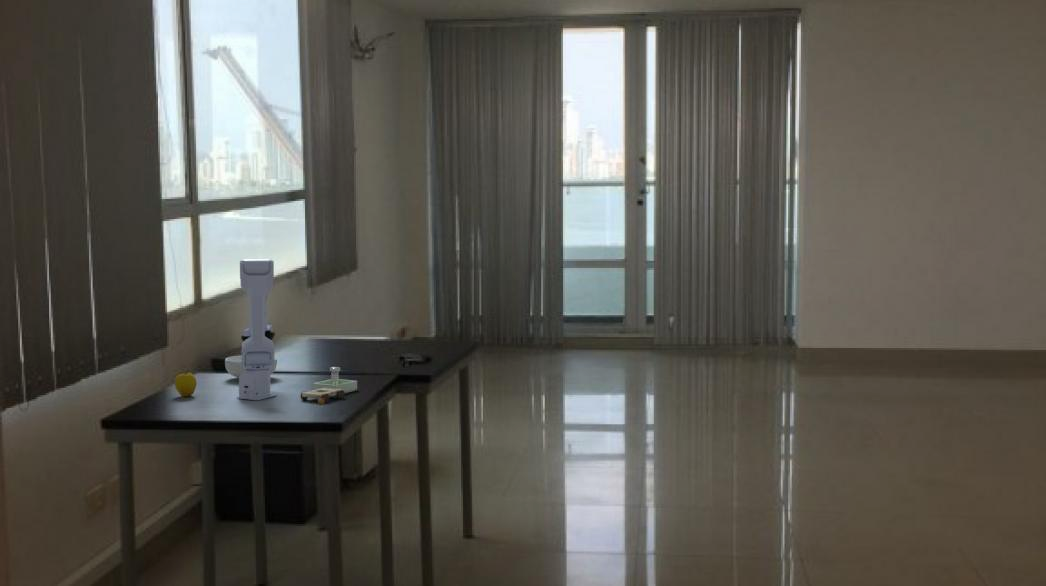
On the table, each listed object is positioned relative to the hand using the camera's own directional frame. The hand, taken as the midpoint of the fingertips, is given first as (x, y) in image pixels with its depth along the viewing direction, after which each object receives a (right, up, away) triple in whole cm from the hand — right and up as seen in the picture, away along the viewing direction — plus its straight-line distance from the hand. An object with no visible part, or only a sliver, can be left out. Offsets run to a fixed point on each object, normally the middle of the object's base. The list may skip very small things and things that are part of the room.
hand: (258, 356), depth 375 cm
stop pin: (+25, -10, -3) cm, 27 cm away
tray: (+25, -11, -3) cm, 27 cm away
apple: (-19, -12, -14) cm, 26 cm away
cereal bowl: (-7, -9, +20) cm, 23 cm away
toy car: (+23, -12, -17) cm, 31 cm away
